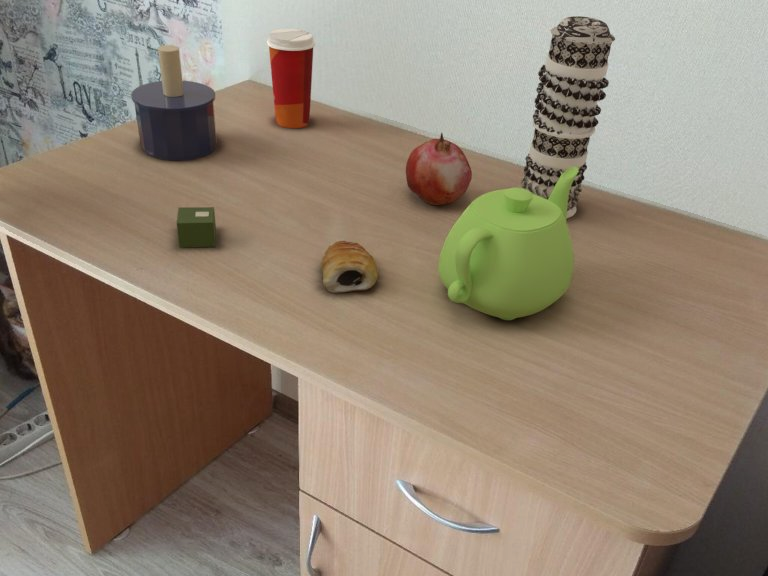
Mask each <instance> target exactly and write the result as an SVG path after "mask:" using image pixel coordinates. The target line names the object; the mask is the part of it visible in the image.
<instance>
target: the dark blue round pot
mask: <svg viewBox="0 0 768 576" xmlns="http://www.w3.org/2000/svg"><path fill="white" fill-rule="evenodd" d="M214 102H215V100H214V101H213V102H212V103H211V104H209V105H207V106H205V107H203V108H199V109H195V110H190V111H180V112H165V111H155V110H150V109H146V108H143V107H140V106H138V105H137V104H135V103H134V102H133V103H134V111H135V116H136V123H137V130H138V131H137V132H138V137H139V145H140V146H141V150H142V151H143V152H144V154H146V155H147V156H150V157H152V158H155V159H160V160H164V161H175V162H176V161H190V160H196V159H200V158H203V157H206V156H208V155H210V154H211V153H213V152H214V151H216V149H217V146H218V144H217V143H218V141H217V139H218V137H217V127H216V126H217V125H216V116H215V115H216V113H215V103H214Z"/></svg>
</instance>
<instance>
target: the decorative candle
mask: <svg viewBox="0 0 768 576" xmlns="http://www.w3.org/2000/svg"><path fill="white" fill-rule="evenodd" d="M550 34H551V36H552V37H551V40H550V45H549V51H548V54H546V59H545V64H542V66H541V67H540V69H539V71H538V73H537V76H538V79H539V81H540V82H539V83H538V84H537V87H536V93H537V95H536V97H535V98H534V104H535V105H534V106H535V108H536V109H535V110H534V113H533V115H532V126H533V128H534V130H533V131H534V132H533V138H532V141H531V142H530V146H529V150H528V151H529V152H528V154H527V155H526V156H525V158H524V159H525V164H526V165H525V166H524V167H523V172H524V173H523V174H524V176H523V177H521V180H520V184H521V187H520V188H523V189H526V190H528V191H530V192H532V194H535V195H538V196H540V197H542V198H545V199H547V200H548V198H549V196H550V195H551V193H552V191H553V189H554V187H555V185H556V183H557V181H558V180H559V178H560V176H561V175H562V174H563V173H564V172H565V171H566V170H567V169H569V168H571V167H577V168H578V174H577V175H576V177H575V179H574V181H573V183H572V185H571V188H570V191H569V196H568V206H567V219H569V218H572V217H573V216H574V215H575V214H576V212H577V206H578V203H579V202H580V198H579V196H580V193H581V192H582V191H583V188H582V184H583V181H584V180H585V176H584V173H585V172H586V170H587V168H588V166H587V159H588V154H589V152H588V146H589V143H590V137H592V136H593V134H595V133H596V127H597V125H598V124H599V120H598V119H597V118H596V116H599V115H600V114H601V112H602V108H601V107H600V106H599V104H598V102H600V101H603V100H605V98H606V96H607V94H606V93H605V91H604V90H603V89H606V88H607V87H609V84H610V82H609V80H608V79H607V78H606V76H607V71H608V69H609V61H608V60H609V56H610V52H611V48H612V44H613V42H614V41H616V37H615V36H614V35H613V34H611V31H610V28H609V26H608V23H606V22H604V21H603V20H600V19H598V18H594V17H590V16H589V17H588V16H582V15H581V16H577V15H576V16H567V17H565V18H563V19H562V20H561V21H559V23H558V25H557V26H554V27H553V28H551V29H550Z"/></svg>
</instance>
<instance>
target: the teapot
mask: <svg viewBox="0 0 768 576" xmlns="http://www.w3.org/2000/svg"><path fill="white" fill-rule="evenodd" d="M577 174H578V168H577V167H571V168H569V169H567V170H566V171H565V172H564V173H563V174H562V175H561V176H560V178H559V180H558V181H557V183H556V185H555V187H554V189H553V191H552V193H551V195H550V196H549V198H548V200H547V199H545V198H542V197H540V196H538V195H535V194H532V192H530V191H528V190H526V189H523V188H521V187H509V188H504V189H503V188H502V189H497V190H493V191H492V190H491V191H488V192H486V193H484V194H482V195H479V196H478V197H476V198H475V199H474V200H472V201H471V203H470V204H468V206H467V207H466V209H465V210H464V211H463V212H462V213H461V215H460V216H459V217H458V218H457V220H456V222H455V223H454V225H452V228H451V229H450V230H449V233H448V234H447V236H446V238H445V240H444V243H443V246H442V248H441V251H440V254H439V259H438V264H437V265H438V266H437V271H438V276H439V278H440V280H441V282H442V284H443V286H445V288H446V290H447V297H448V298H449V300H450V301H451V302H452V303H455V304H464V305H466V306H468V307H470V308H471V309H473V310H476V311H477V312H481V313H483V314H486V315H488V316H492V317H497V318H499V319H501V320H504V321H513V320H515V319H516V318H518V319H519V318H523V317H527V316H531V315H534V314H537V313H540V312H542V311H544V310H545V309H547V308H549V307H550V306H551V305H552V304H554V303H555V302H556V301H558V300H559V299H561V297H562V296H563V295H565V293H566V291H567V290H568V289H569V287H570V285H571V284H572V280H573V279H572V278H573V272H574V263H575V260H574V259H575V258H574V255H575V254H574V247H573V240H572V236H571V233H570V230H569V226H568V224H567V219H568V218H567V206H568V196H569V191H570V188H571V185H572V183H573V181H574V179H575V177H576V175H577Z"/></svg>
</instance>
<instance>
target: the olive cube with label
mask: <svg viewBox="0 0 768 576" xmlns="http://www.w3.org/2000/svg"><path fill="white" fill-rule="evenodd" d="M215 213H216V212H215V206H197V207H196V206H193V207H178V209H177V216H176V230H177V238H178V239H177V240H178V245H179V248H215V247H216V242H217V241H216V239H217V225H216V214H215Z"/></svg>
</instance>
